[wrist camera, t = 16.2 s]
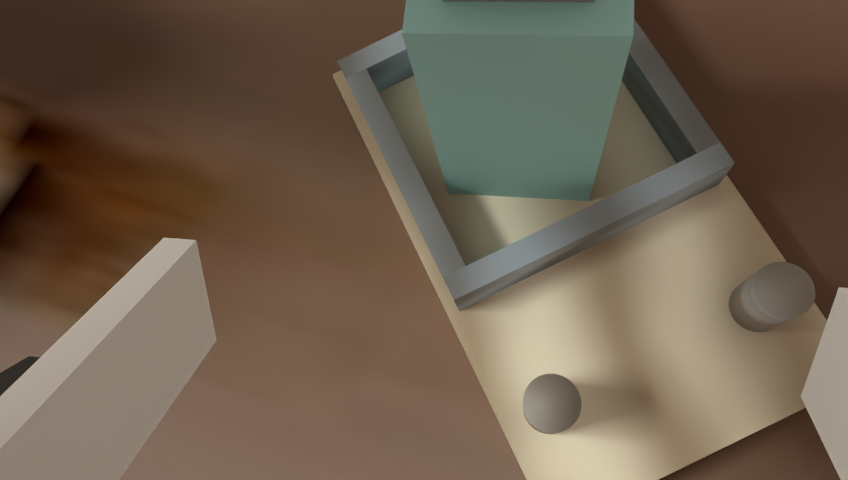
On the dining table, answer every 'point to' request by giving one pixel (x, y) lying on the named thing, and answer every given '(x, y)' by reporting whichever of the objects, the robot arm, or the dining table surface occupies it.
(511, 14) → the pale green upright block
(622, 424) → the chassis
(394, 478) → the dining table surface
